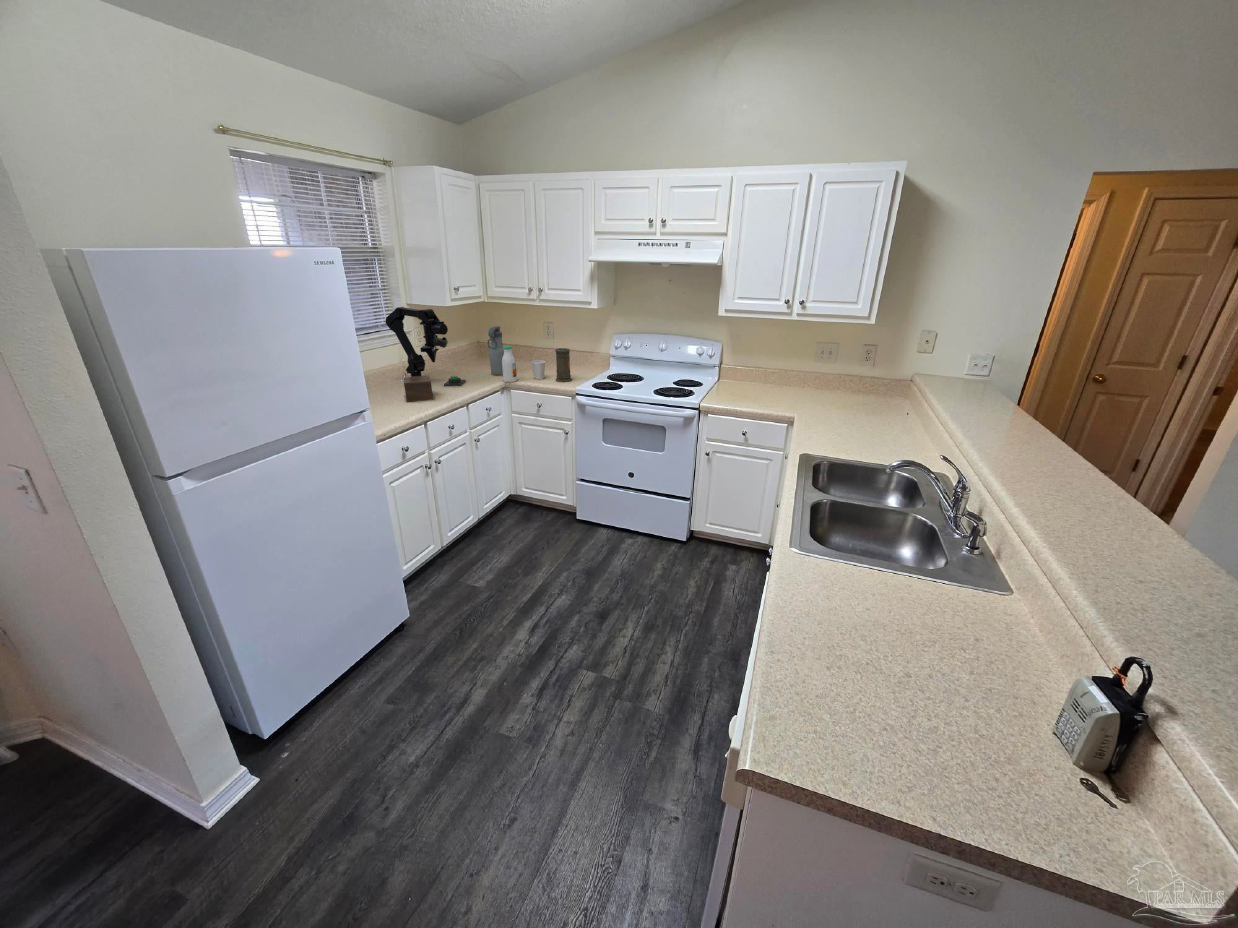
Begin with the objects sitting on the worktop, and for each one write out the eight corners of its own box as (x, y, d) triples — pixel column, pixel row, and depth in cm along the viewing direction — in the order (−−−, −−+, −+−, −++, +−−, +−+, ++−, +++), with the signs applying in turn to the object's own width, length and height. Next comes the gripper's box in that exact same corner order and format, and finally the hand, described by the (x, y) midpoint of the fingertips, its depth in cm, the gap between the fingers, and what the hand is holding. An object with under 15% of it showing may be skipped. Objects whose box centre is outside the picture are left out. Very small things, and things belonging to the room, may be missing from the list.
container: (559, 382, 293) (558, 351, 286) (553, 379, 300) (552, 348, 293) (573, 381, 297) (572, 350, 290) (568, 377, 304) (566, 347, 297)
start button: (452, 378, 290) (451, 375, 290) (458, 378, 290) (458, 375, 290) (450, 380, 287) (450, 377, 286) (456, 380, 287) (456, 377, 286)
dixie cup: (549, 378, 304) (548, 361, 300) (538, 380, 298) (537, 363, 294) (539, 375, 309) (539, 359, 305) (529, 378, 303) (528, 361, 299)
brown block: (406, 395, 266) (403, 377, 263) (431, 393, 271) (429, 375, 267) (406, 402, 255) (403, 383, 251) (433, 399, 259) (430, 381, 255)
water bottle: (501, 376, 307) (497, 328, 296) (487, 374, 310) (483, 327, 299) (510, 372, 316) (507, 326, 305) (497, 371, 319) (493, 325, 308)
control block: (449, 381, 295) (449, 376, 293) (465, 381, 295) (464, 376, 294) (444, 386, 284) (443, 380, 283) (460, 386, 285) (459, 381, 283)
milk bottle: (509, 383, 291) (506, 348, 284) (500, 381, 296) (497, 346, 288) (519, 380, 297) (517, 346, 289) (510, 378, 301) (508, 344, 294)
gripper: (439, 336, 266) (443, 366, 272) (449, 331, 283) (453, 359, 289) (418, 336, 266) (422, 366, 272) (429, 330, 283) (433, 359, 289)
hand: (433, 362), depth 281 cm, fingers closed
